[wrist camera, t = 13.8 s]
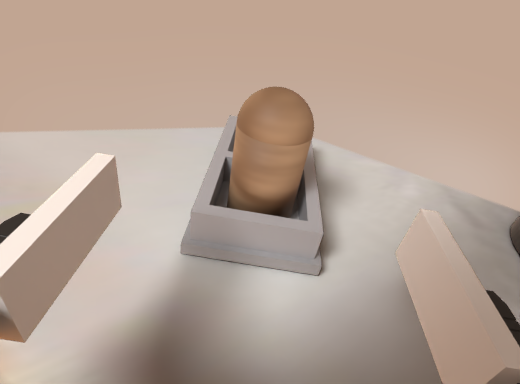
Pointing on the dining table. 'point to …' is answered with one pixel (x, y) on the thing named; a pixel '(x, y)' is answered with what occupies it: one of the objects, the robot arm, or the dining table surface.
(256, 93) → the wooden dome-top peg
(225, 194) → the two-compartment grey tray
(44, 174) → the dining table surface
